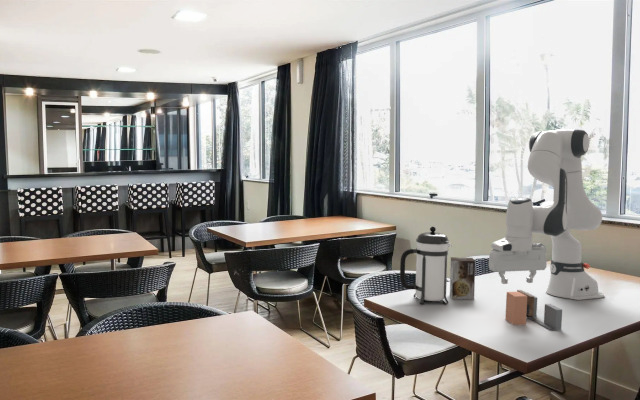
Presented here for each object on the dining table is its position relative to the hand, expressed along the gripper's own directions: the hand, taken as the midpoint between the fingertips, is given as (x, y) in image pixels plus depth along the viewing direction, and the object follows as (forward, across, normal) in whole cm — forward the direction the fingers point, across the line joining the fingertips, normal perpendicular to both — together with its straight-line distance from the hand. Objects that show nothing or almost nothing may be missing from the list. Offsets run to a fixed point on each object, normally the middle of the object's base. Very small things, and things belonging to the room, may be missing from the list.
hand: (516, 283), depth 184 cm
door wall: (+14, -8, 0) cm, 16 cm away
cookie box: (+14, +6, -31) cm, 35 cm away
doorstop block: (+14, 0, +1) cm, 14 cm away
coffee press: (+14, +22, -27) cm, 38 cm away
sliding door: (+13, -4, -7) cm, 15 cm away
